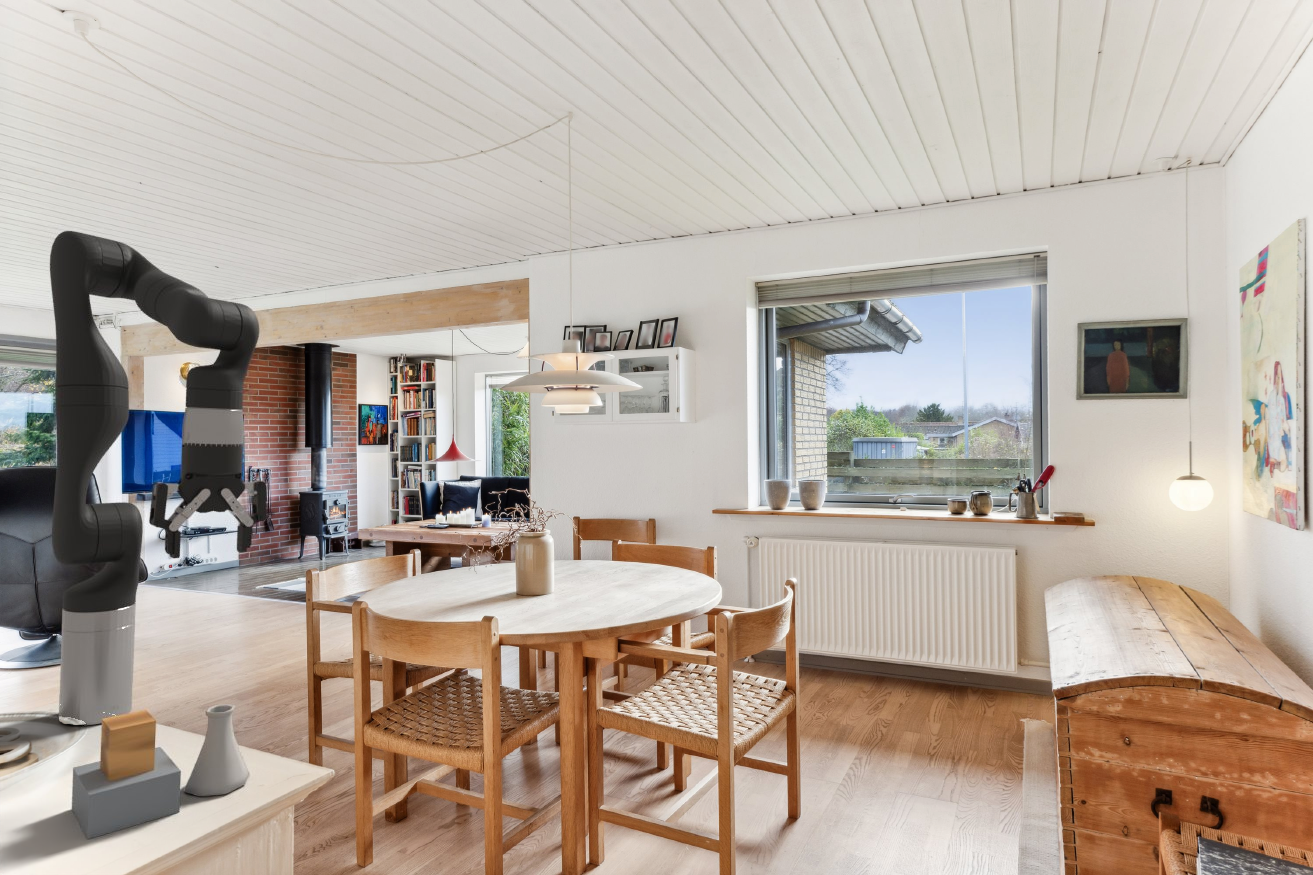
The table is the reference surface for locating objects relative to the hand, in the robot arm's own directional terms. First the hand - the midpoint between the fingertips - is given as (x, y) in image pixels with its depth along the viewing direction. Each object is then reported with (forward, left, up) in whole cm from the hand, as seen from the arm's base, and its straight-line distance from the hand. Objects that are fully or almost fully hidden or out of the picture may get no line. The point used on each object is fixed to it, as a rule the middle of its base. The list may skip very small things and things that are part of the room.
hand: (208, 554), depth 107 cm
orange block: (+12, -12, -23) cm, 28 cm away
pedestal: (+12, -12, -28) cm, 33 cm away
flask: (+12, -2, -28) cm, 31 cm away
